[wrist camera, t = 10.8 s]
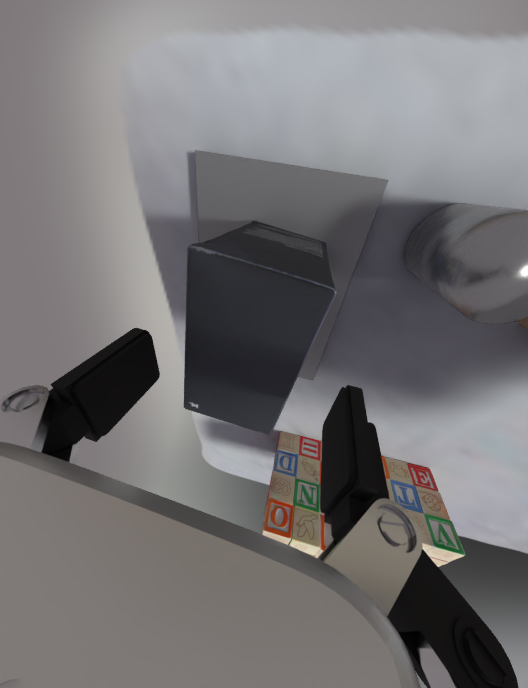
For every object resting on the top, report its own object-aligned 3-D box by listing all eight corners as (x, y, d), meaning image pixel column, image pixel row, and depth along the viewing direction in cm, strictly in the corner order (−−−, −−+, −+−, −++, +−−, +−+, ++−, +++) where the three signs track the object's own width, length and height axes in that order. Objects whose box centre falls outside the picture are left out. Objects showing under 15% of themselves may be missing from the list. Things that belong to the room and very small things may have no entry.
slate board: (384, 180, 14) (388, 180, 14) (313, 374, 25) (312, 380, 24) (201, 152, 16) (194, 150, 15) (206, 348, 26) (203, 353, 25)
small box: (290, 349, 22) (273, 442, 14) (231, 330, 23) (178, 410, 14) (332, 242, 16) (346, 293, 8) (250, 217, 16) (176, 241, 8)
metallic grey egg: (495, 190, 14) (629, 194, 8) (480, 268, 16) (573, 311, 11) (405, 219, 15) (464, 238, 9) (404, 286, 18) (450, 332, 12)
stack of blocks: (431, 466, 30) (485, 600, 20) (409, 485, 34) (446, 607, 24) (279, 429, 33) (261, 532, 23) (274, 451, 36) (257, 548, 26)
